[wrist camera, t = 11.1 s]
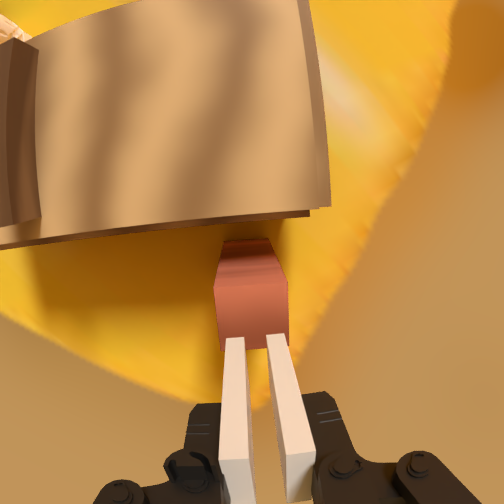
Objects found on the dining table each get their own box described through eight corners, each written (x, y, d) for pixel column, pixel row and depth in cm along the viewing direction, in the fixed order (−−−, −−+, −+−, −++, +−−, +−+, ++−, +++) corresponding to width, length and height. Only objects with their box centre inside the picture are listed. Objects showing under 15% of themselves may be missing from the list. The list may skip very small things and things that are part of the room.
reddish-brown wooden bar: (223, 241, 29) (213, 287, 17) (268, 238, 29) (287, 282, 17) (227, 283, 30) (220, 351, 18) (270, 280, 30) (289, 346, 18)
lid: (14, 236, 22) (-44, 258, 14) (7, 77, 18) (-47, 61, 11) (317, 201, 22) (354, 214, 15) (297, 15, 19) (320, -40, 11)
